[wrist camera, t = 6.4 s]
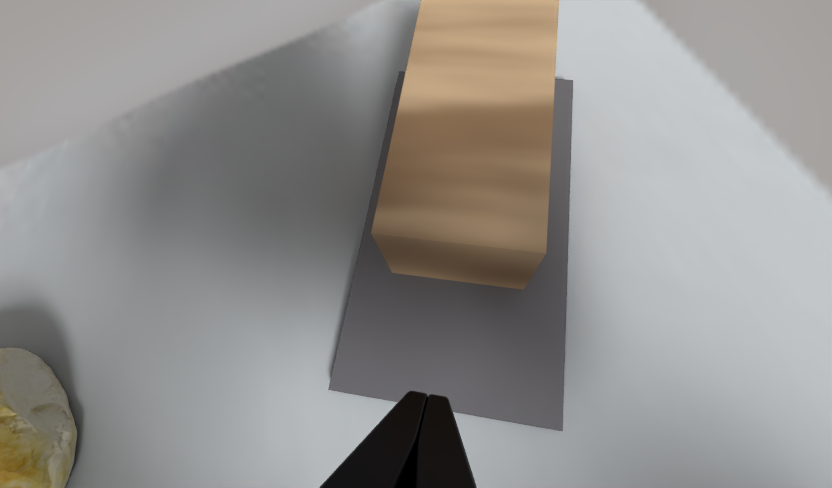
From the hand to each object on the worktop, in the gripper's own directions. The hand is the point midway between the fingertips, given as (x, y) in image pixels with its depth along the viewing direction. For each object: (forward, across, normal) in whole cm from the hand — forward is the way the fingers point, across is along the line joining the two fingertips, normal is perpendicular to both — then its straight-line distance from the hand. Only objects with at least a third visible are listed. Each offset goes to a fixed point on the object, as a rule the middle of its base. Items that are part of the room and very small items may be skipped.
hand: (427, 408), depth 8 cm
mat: (+9, 0, -1) cm, 9 cm away
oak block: (+6, 0, -1) cm, 6 cm away
